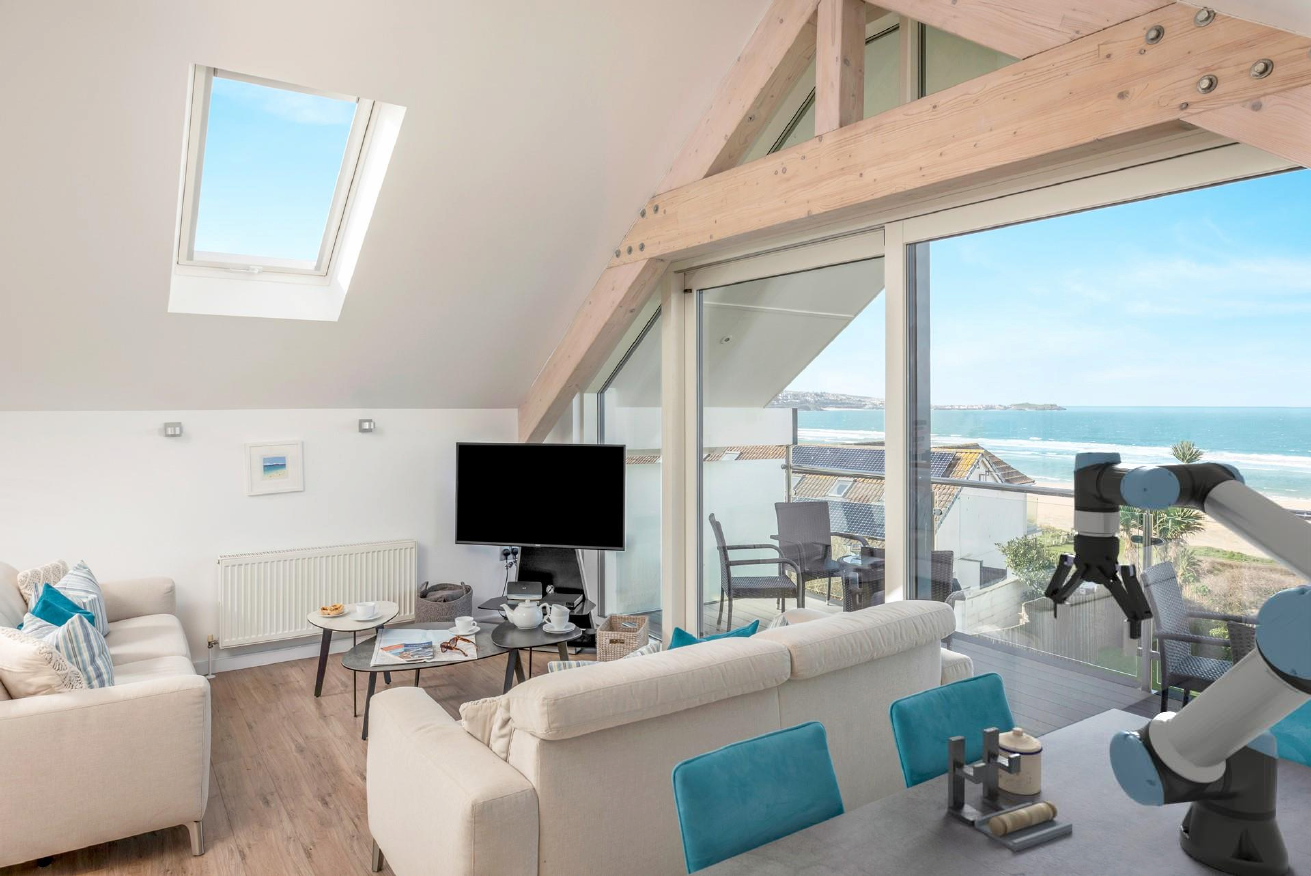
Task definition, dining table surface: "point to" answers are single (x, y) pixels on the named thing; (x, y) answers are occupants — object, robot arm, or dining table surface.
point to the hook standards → (978, 776)
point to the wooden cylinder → (1022, 818)
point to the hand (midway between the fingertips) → (1095, 646)
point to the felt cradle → (1024, 830)
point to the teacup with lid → (1030, 762)
